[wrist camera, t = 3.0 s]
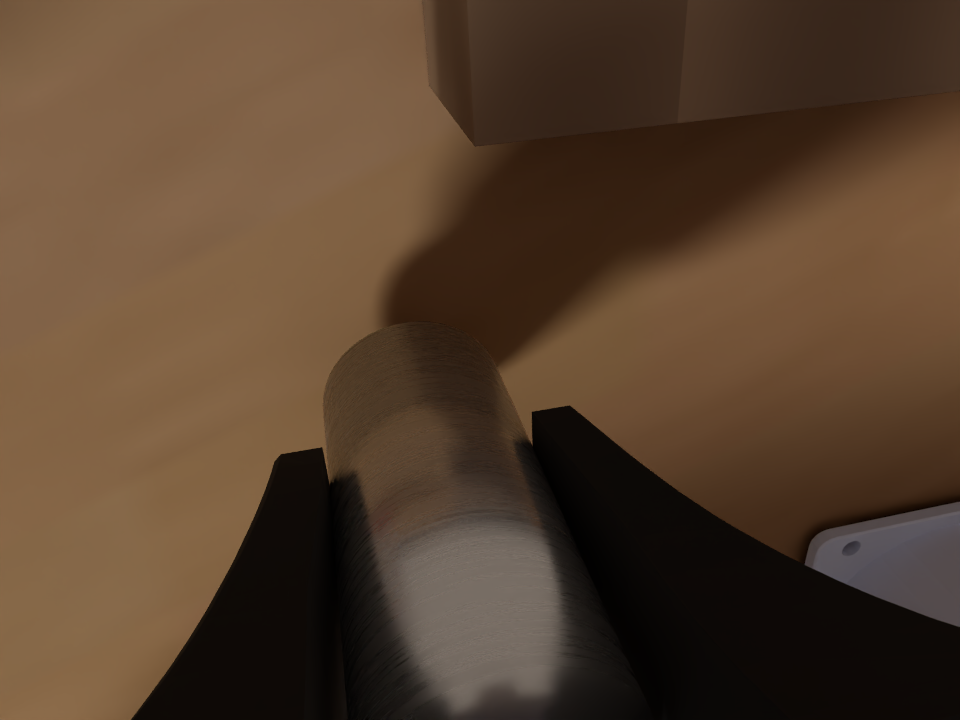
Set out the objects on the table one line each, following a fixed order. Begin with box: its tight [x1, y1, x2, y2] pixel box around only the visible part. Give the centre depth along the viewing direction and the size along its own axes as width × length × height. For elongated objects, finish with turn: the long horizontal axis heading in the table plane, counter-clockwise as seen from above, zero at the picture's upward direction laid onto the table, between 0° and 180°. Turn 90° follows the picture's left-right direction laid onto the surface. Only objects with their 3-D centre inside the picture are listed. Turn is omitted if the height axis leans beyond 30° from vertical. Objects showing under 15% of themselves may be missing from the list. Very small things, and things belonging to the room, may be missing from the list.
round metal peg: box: [323, 322, 653, 720], centre depth 11 cm, size 3×3×7 cm
